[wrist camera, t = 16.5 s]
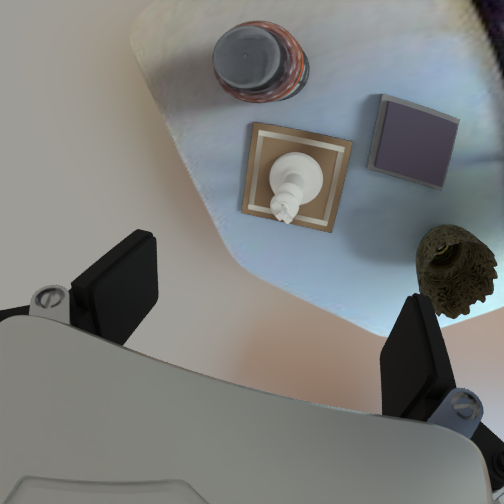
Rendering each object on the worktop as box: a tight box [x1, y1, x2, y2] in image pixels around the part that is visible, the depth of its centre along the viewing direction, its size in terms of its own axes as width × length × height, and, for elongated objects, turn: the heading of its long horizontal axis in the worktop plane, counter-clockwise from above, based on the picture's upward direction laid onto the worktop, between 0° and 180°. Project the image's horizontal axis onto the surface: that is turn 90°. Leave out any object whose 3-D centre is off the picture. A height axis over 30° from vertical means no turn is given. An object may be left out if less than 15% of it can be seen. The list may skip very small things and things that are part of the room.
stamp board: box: [242, 122, 353, 233], centre depth 29 cm, size 9×9×1 cm
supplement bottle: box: [213, 21, 309, 103], centre depth 21 cm, size 6×6×11 cm
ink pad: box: [366, 94, 460, 191], centre depth 25 cm, size 8×7×2 cm
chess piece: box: [269, 152, 323, 225], centre depth 25 cm, size 5×5×10 cm
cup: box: [416, 225, 498, 319], centre depth 25 cm, size 8×7×8 cm
